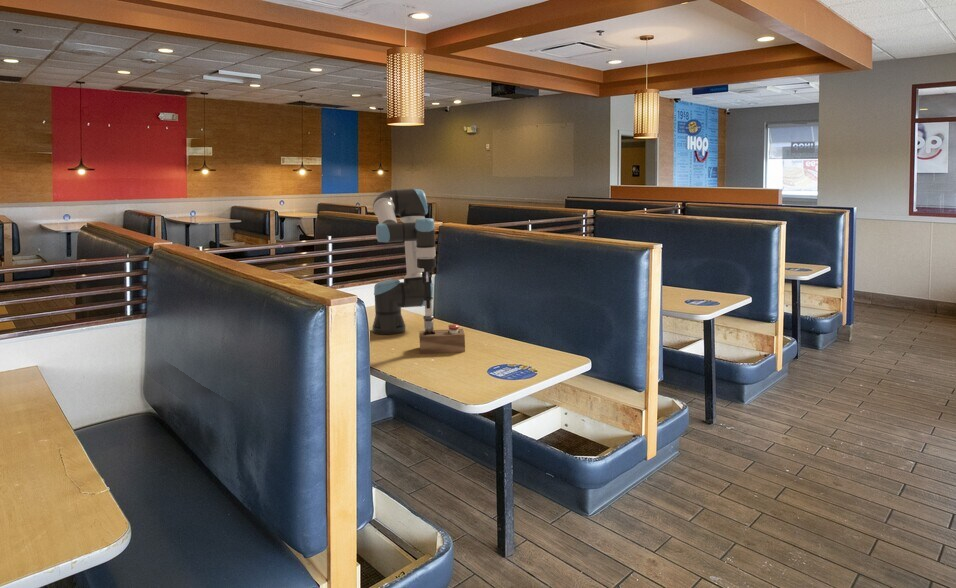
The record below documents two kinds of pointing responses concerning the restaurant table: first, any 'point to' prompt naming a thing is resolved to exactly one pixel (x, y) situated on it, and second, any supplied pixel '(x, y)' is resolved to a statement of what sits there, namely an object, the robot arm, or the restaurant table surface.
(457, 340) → the block
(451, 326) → the plug red
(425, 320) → the plug grey
